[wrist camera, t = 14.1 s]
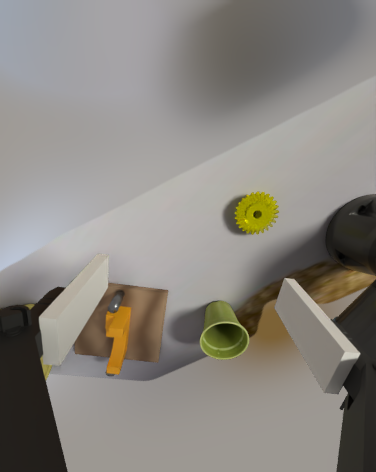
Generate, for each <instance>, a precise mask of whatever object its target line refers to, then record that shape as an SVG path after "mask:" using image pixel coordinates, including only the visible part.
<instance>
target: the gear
mask: <svg viewBox="0 0 376 472" xmlns="http://www.w3.org/2000/svg"><path fill="white" fill-rule="evenodd" d="M269 195H270V194H266V195H265V192H262V193H261V194H259V191H258V192H256V194H254V192H252V193H251V195H246V197H245V198H242V201H241V202H239V203H238V204H239V205H238V206H237V207H236V209H237V211H236V212H235V214H236V217H235V219H237V222H236V224H239V228H242V231H243V232H244V231H245V230H246V233H247V234H248V233H249V232H250V231H251V234H252V235H253V234H254V233H255V232H256V234H259V231H261V232H262V233H264V229H265V230H267V231H268V230H269V229H268V226H270V227H273V225H272V224H271V222H273V223H276V221H275V220H274V218H278V216H277V215H275V214H276V213H279V211H278V210H276V209H277V208H278V207H279V206H278V205H275V204H276V202H277V201H272V200H273V198H274V197H269ZM255 211H257V212H256V213H255V214H254V212H255ZM253 214H254V215H253Z"/></svg>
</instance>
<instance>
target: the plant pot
mask: <svg viewBox="0 0 376 472" xmlns="http://www.w3.org/2000/svg"><path fill="white" fill-rule="evenodd" d="M248 345H249V335H248V333H247V331H246V329H245V328H244V327H243V326H242V325H241V324H240V323H239V322H238V320H237V318H236V316H235V314H234V312H233V310H232V308H231V306H230V305H229V304H228V303H226V302H224V301H217V302H212V303H210V304H209V305H208V306H207V308H206V310H205V321H204V330H203V332H202V334H201V337H200V346H201V349H202V350H203V352H204V353H205V354H207V355H208V356H210V357H212V358H215V359H221V360H227V359H232V358H235V357H237V356H239V355H241V354H242V353H243V352H244V351H245V350H246V349H247V347H248Z"/></svg>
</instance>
